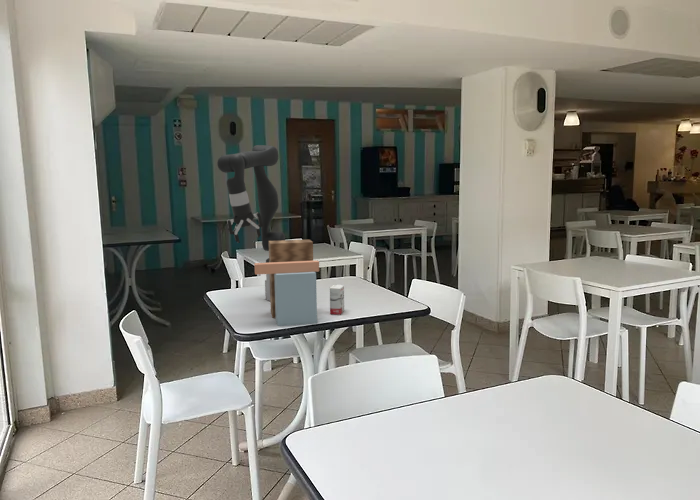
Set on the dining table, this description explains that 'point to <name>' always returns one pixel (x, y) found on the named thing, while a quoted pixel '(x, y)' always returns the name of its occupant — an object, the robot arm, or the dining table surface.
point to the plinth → (287, 259)
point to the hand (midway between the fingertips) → (248, 239)
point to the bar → (286, 267)
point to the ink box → (336, 299)
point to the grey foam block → (295, 298)
